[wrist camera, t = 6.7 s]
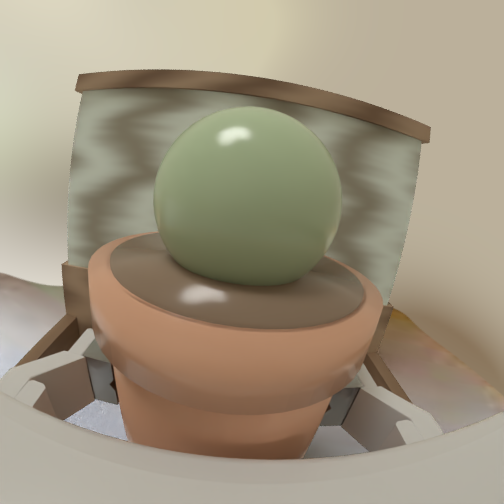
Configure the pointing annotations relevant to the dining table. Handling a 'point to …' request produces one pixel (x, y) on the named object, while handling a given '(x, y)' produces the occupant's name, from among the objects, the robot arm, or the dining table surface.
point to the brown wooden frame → (190, 111)
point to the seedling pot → (234, 294)
